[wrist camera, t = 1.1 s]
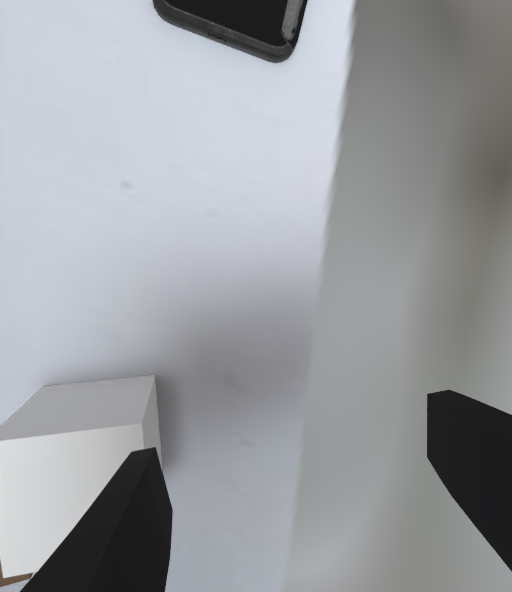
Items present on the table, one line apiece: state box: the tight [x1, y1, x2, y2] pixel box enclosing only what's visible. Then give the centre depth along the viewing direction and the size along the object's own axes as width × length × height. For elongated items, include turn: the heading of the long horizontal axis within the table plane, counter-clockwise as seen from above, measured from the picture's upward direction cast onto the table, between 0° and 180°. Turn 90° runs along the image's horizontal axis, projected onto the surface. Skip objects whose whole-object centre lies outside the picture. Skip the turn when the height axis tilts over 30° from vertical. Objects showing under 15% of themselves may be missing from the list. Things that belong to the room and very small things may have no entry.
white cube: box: [0, 375, 163, 578], centre depth 17 cm, size 6×6×6 cm
